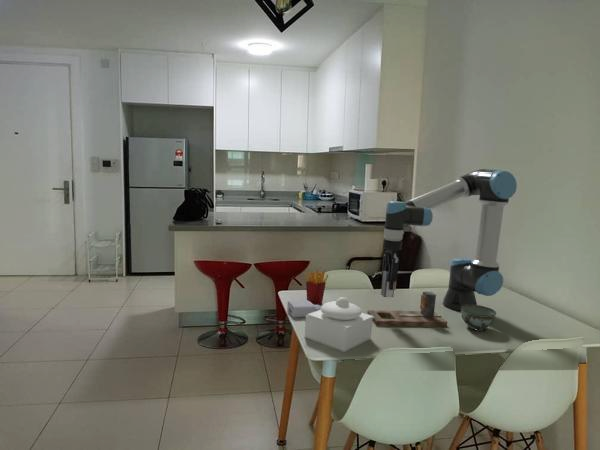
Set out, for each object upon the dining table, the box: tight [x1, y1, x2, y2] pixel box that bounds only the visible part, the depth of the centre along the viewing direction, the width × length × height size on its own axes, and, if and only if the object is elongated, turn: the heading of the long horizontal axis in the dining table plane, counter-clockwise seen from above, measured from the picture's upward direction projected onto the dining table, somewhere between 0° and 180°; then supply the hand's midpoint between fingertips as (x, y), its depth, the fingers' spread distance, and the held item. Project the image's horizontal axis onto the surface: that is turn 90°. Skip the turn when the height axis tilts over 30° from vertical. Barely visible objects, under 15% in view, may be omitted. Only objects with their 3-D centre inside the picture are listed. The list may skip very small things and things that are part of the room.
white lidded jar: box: [304, 296, 374, 353], centre depth 168 cm, size 18×18×16 cm
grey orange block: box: [380, 271, 397, 298], centre depth 189 cm, size 5×4×10 cm
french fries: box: [305, 270, 329, 305], centre depth 209 cm, size 9×8×15 cm
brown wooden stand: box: [366, 291, 448, 327], centre depth 192 cm, size 30×13×12 cm, turn 98°
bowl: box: [460, 304, 497, 331], centre depth 188 cm, size 14×13×8 cm
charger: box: [286, 300, 322, 318], centre depth 194 cm, size 5×9×15 cm
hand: (387, 295), depth 190 cm, fingers closed on grey orange block, 4 cm apart
